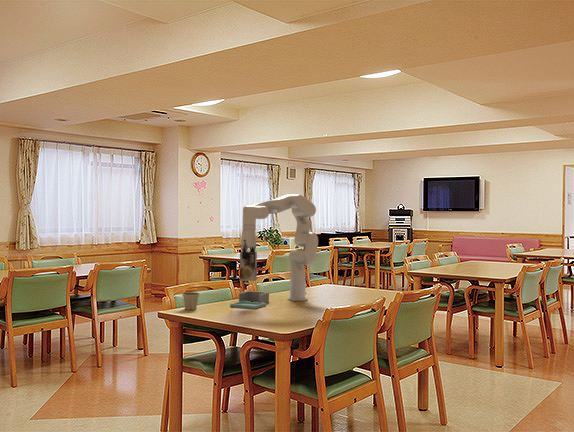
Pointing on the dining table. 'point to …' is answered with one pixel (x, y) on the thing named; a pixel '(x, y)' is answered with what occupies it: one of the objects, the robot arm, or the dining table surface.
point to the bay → (254, 296)
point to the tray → (248, 304)
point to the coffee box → (248, 267)
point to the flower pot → (190, 300)
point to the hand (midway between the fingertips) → (248, 258)
